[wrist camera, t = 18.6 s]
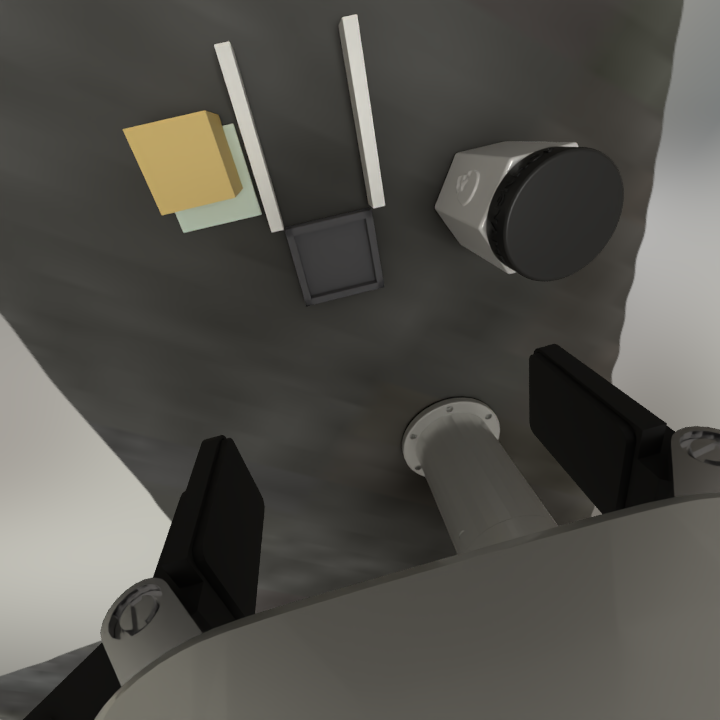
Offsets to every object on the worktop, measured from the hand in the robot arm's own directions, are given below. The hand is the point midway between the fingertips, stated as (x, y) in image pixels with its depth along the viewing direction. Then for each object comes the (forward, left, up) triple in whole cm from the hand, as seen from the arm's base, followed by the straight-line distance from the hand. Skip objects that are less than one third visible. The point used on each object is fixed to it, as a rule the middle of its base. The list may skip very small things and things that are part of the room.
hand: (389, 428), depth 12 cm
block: (+8, +8, -25) cm, 28 cm away
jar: (0, -15, -26) cm, 30 cm away
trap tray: (-2, -1, -26) cm, 26 cm away
